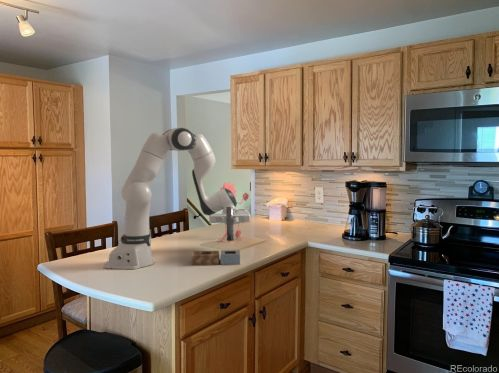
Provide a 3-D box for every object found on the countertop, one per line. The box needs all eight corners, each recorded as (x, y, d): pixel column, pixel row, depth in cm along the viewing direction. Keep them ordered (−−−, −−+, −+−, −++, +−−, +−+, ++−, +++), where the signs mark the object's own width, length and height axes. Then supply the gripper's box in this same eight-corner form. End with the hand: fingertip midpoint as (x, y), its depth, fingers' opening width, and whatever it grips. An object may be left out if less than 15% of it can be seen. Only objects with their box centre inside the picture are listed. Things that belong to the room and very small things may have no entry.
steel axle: (226, 241, 181) (226, 207, 180) (226, 239, 184) (226, 206, 183) (233, 240, 181) (233, 207, 180) (233, 239, 184) (233, 206, 183)
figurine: (253, 238, 236) (251, 181, 234) (218, 245, 219) (216, 183, 217) (237, 235, 247) (235, 181, 245) (203, 241, 231) (201, 183, 229)
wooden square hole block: (192, 265, 178) (192, 255, 178) (194, 260, 187) (194, 251, 187) (218, 264, 178) (218, 255, 178) (219, 259, 187) (219, 250, 187)
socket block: (220, 264, 178) (220, 255, 178) (221, 259, 187) (221, 250, 187) (240, 264, 179) (239, 254, 178) (239, 259, 188) (239, 250, 187)
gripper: (209, 210, 194) (207, 214, 180) (249, 209, 195) (251, 213, 181) (209, 222, 194) (207, 227, 181) (250, 222, 195) (251, 226, 181)
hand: (229, 220), depth 181 cm, fingers closed on steel axle, 3 cm apart
